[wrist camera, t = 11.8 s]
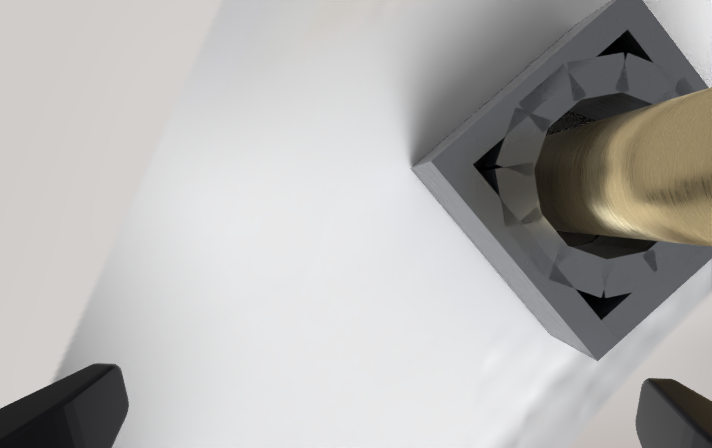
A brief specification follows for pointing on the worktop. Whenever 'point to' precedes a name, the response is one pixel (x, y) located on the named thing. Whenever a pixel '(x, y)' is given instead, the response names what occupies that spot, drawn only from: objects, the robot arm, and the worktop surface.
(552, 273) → the jig
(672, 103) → the brass flanged cylinder
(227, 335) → the worktop surface
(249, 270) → the worktop surface
